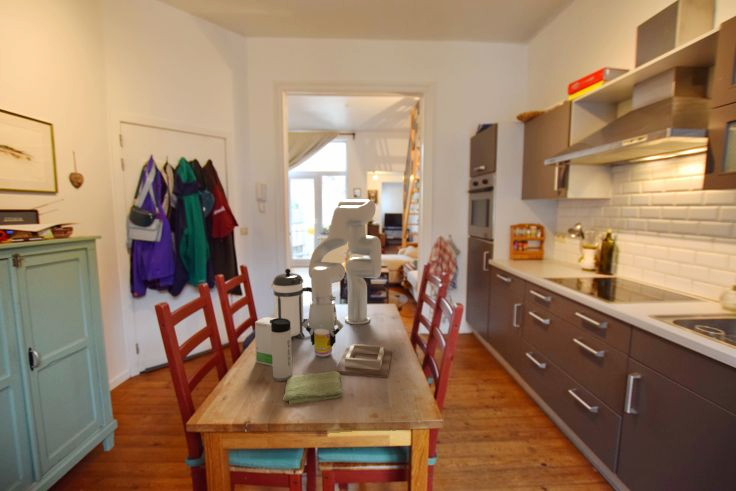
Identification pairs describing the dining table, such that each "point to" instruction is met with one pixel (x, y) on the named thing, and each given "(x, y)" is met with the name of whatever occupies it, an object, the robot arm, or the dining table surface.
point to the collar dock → (365, 361)
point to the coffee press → (290, 300)
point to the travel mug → (281, 349)
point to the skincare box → (263, 341)
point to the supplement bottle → (322, 342)
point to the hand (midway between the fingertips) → (323, 343)
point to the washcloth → (313, 387)
